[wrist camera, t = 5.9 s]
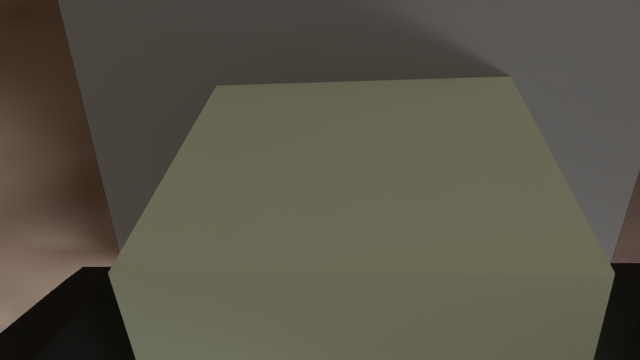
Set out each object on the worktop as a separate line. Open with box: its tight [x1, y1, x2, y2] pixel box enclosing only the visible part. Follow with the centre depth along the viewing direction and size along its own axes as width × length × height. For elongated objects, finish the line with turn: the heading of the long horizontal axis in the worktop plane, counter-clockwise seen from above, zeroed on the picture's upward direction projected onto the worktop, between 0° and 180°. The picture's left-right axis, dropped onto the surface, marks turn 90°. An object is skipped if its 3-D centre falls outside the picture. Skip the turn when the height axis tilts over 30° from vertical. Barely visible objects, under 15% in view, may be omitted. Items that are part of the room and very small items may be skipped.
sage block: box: [108, 76, 615, 360], centre depth 9 cm, size 5×5×5 cm
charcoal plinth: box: [58, 0, 640, 263], centre depth 13 cm, size 10×10×4 cm
